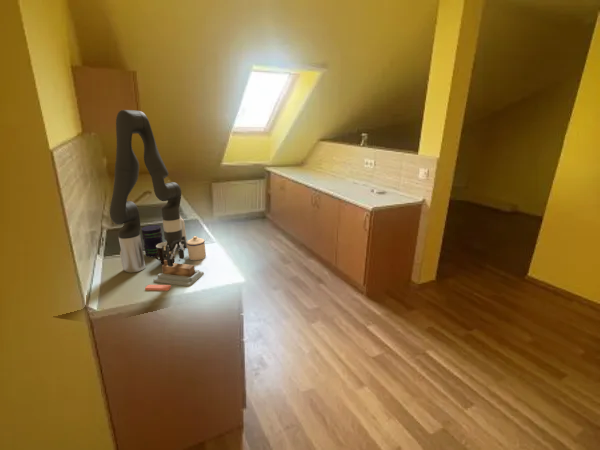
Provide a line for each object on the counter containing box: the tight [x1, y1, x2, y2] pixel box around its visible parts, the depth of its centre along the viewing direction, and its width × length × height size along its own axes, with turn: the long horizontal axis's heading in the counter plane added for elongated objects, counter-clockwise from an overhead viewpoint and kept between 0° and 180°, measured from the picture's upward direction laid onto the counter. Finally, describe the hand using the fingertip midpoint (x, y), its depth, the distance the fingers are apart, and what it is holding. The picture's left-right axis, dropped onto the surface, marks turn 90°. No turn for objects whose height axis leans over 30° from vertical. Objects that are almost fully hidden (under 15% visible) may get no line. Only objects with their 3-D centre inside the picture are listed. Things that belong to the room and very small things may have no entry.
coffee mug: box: [154, 241, 176, 266], centre depth 164 cm, size 12×9×10 cm
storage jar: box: [140, 224, 164, 258], centre depth 176 cm, size 10×10×15 cm
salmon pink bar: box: [144, 284, 172, 292], centre depth 141 cm, size 10×3×2 cm, turn 86°
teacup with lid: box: [186, 235, 207, 261], centre depth 172 cm, size 12×9×12 cm
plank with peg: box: [161, 260, 196, 277], centre depth 149 cm, size 14×4×7 cm, turn 76°
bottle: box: [180, 216, 188, 245], centre depth 183 cm, size 7×7×28 cm
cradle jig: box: [153, 269, 205, 287], centre depth 150 cm, size 18×12×3 cm, turn 76°
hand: (176, 262), depth 148 cm, fingers open, 8 cm apart
